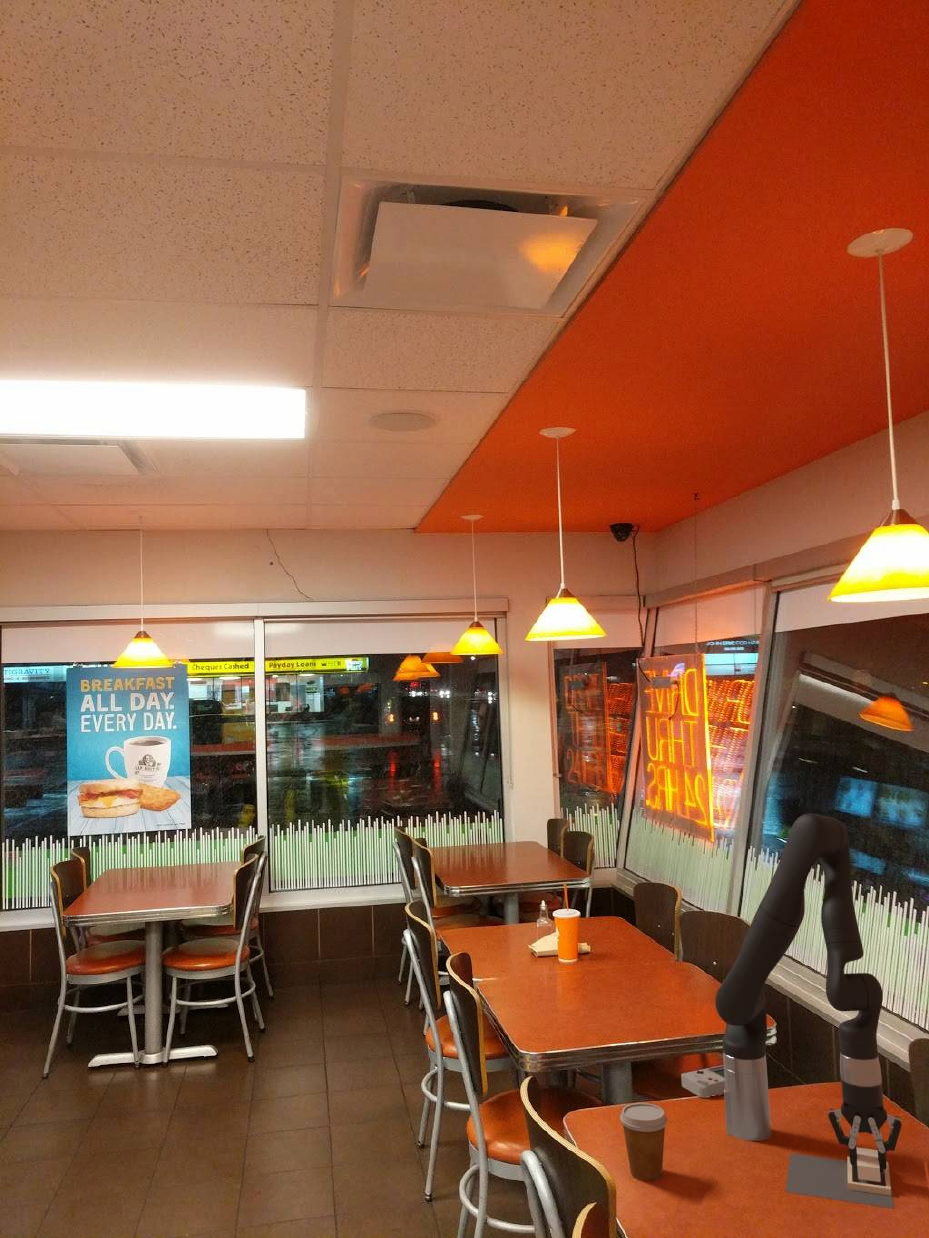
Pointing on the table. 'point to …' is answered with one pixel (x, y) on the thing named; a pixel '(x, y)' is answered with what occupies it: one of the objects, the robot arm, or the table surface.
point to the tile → (868, 1164)
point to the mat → (837, 1181)
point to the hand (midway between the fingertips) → (868, 1168)
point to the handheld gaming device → (705, 1081)
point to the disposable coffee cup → (644, 1139)
